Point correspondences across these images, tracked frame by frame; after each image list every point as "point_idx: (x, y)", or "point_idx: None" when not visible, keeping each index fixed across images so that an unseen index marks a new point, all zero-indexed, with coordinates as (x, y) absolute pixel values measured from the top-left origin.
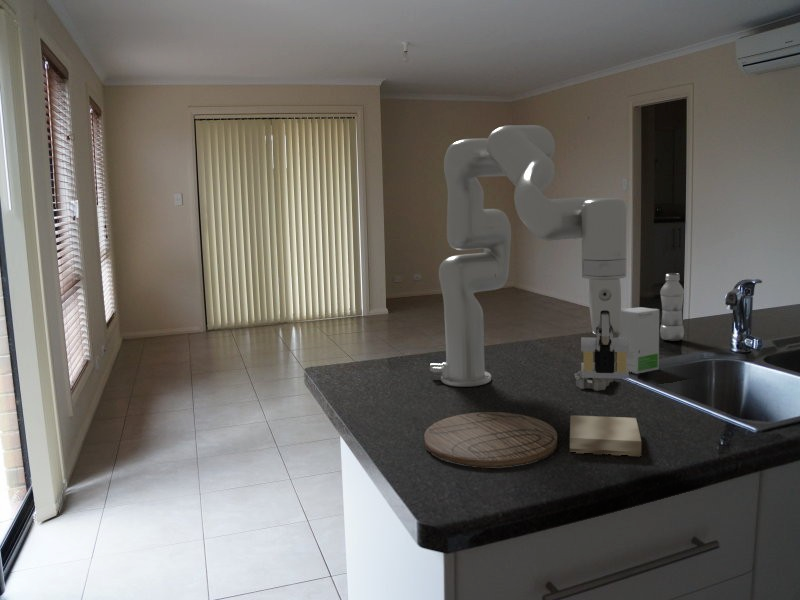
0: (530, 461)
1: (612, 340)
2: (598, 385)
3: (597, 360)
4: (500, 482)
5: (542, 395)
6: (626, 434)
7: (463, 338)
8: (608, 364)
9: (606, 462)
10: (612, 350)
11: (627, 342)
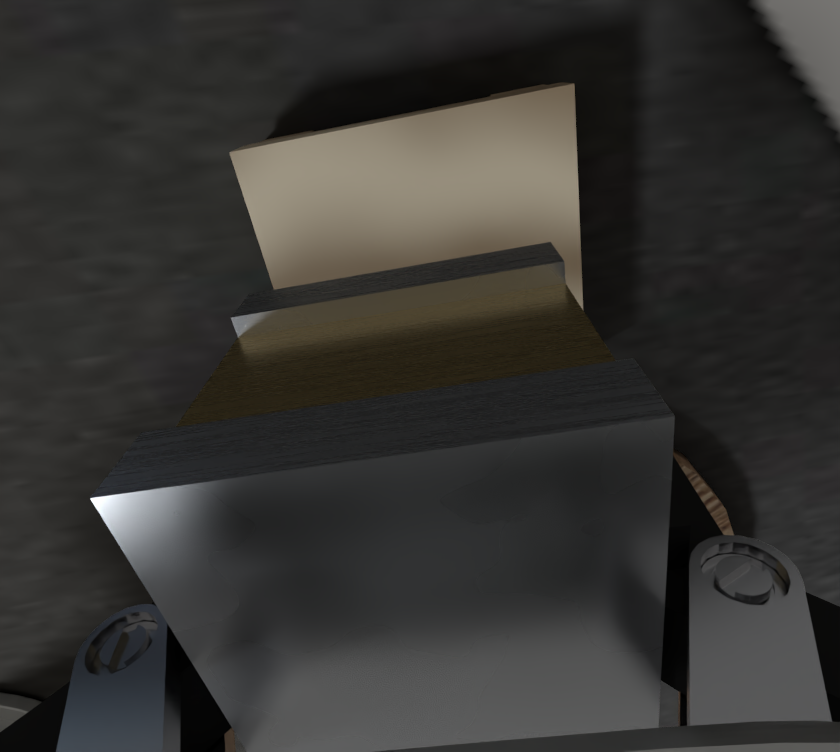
0: (681, 455)
1: (822, 688)
2: None
3: None
4: (824, 490)
5: (7, 542)
6: (492, 171)
7: None
8: (677, 468)
9: (630, 221)
10: (770, 554)
11: (451, 454)
